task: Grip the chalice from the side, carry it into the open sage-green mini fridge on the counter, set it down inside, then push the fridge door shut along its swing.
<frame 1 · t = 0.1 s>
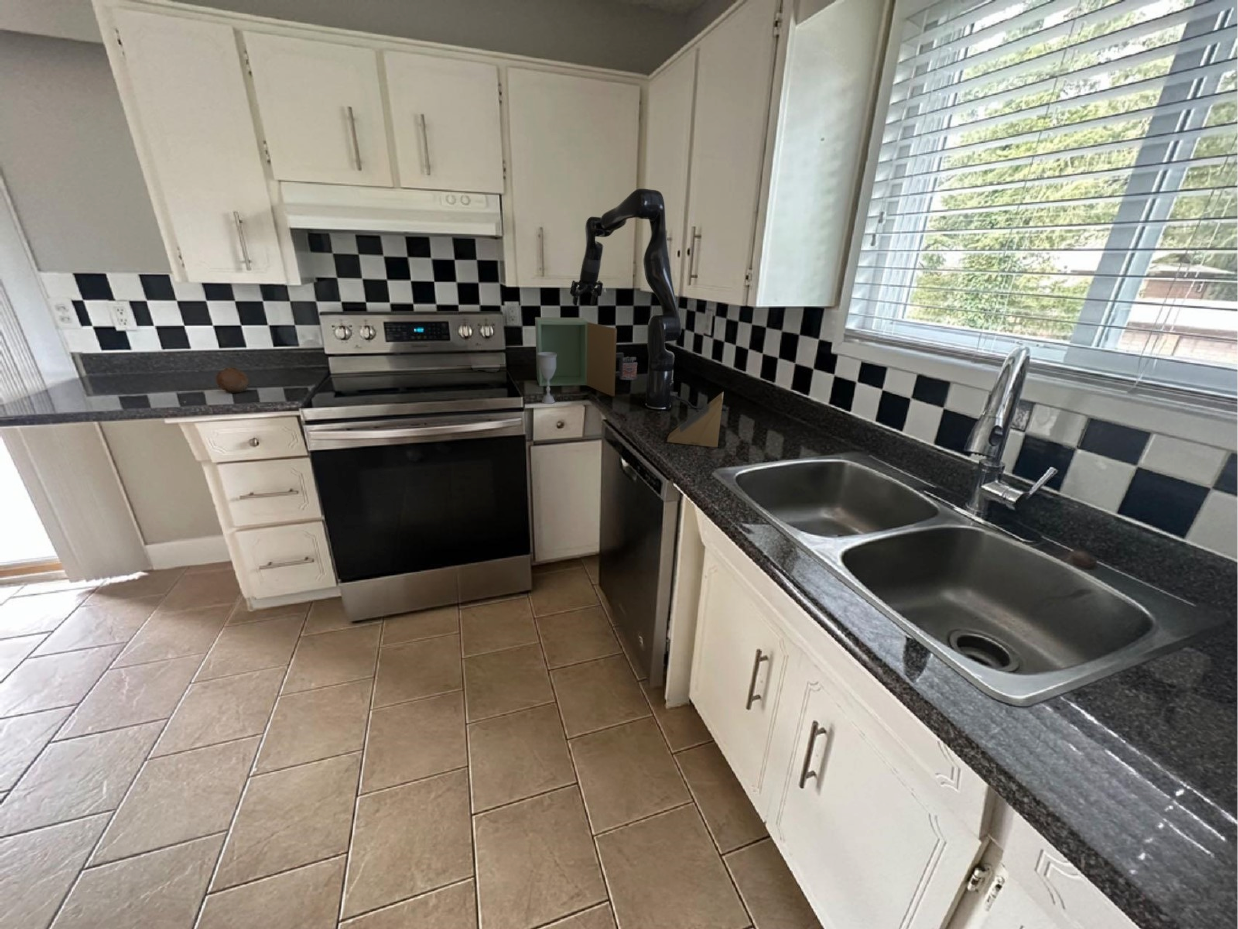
hand: (583, 304, 218), 31 cm above the worktop, tool tilted 20°, fingers open, 8 cm apart
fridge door: (606, 358, 202), point 13 cm above the worktop, hinge at 110.0°
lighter: (627, 379, 228), on the worktop
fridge: (561, 381, 218), on the worktop
sandwich container: (692, 440, 154), on the worktop
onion: (235, 392, 186), on the worktop
chalice: (548, 402, 188), on the worktop
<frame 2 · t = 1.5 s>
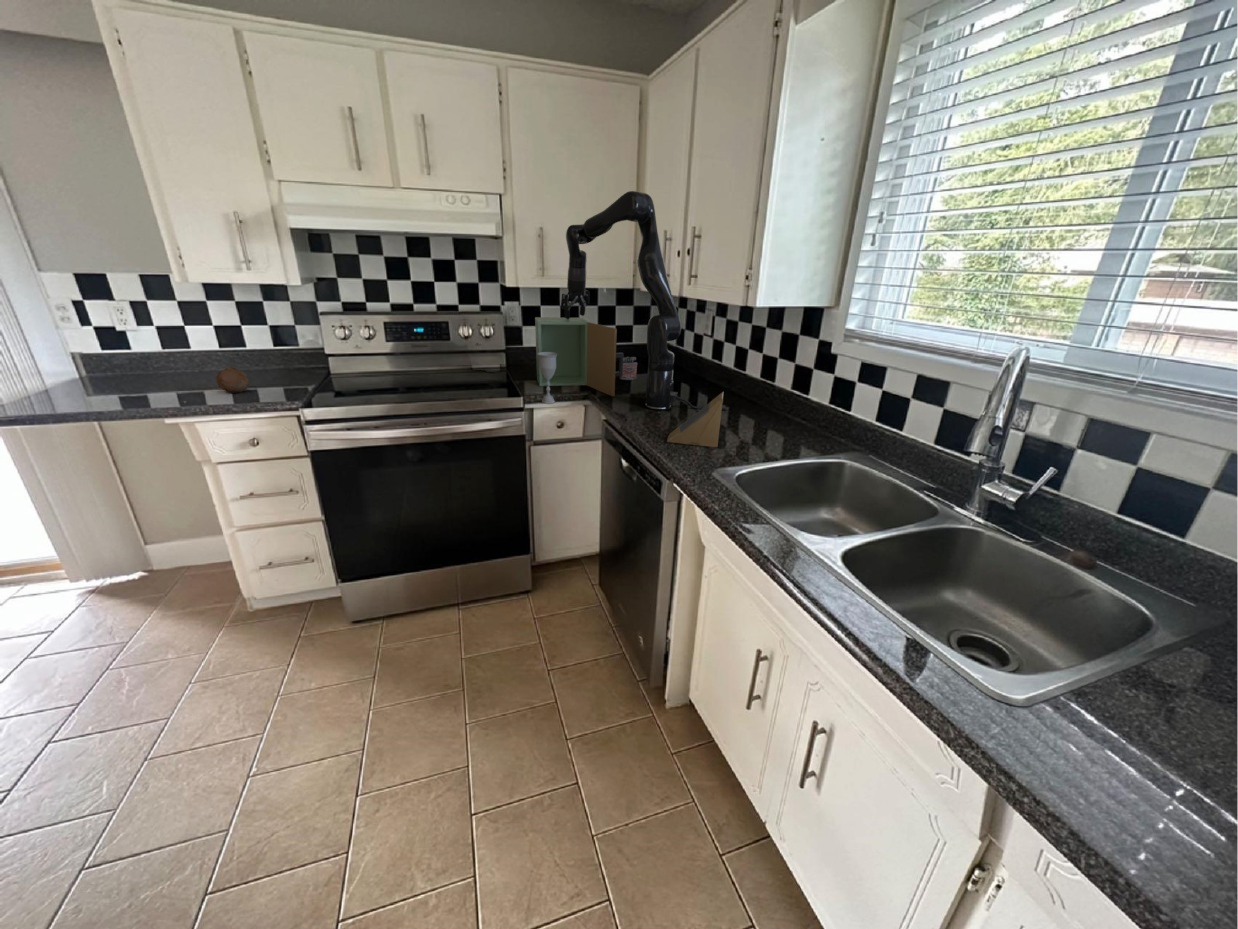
hand: (574, 316, 214), 27 cm above the worktop, tool pointing down, fingers open, 8 cm apart
nothing on the worktop moved.
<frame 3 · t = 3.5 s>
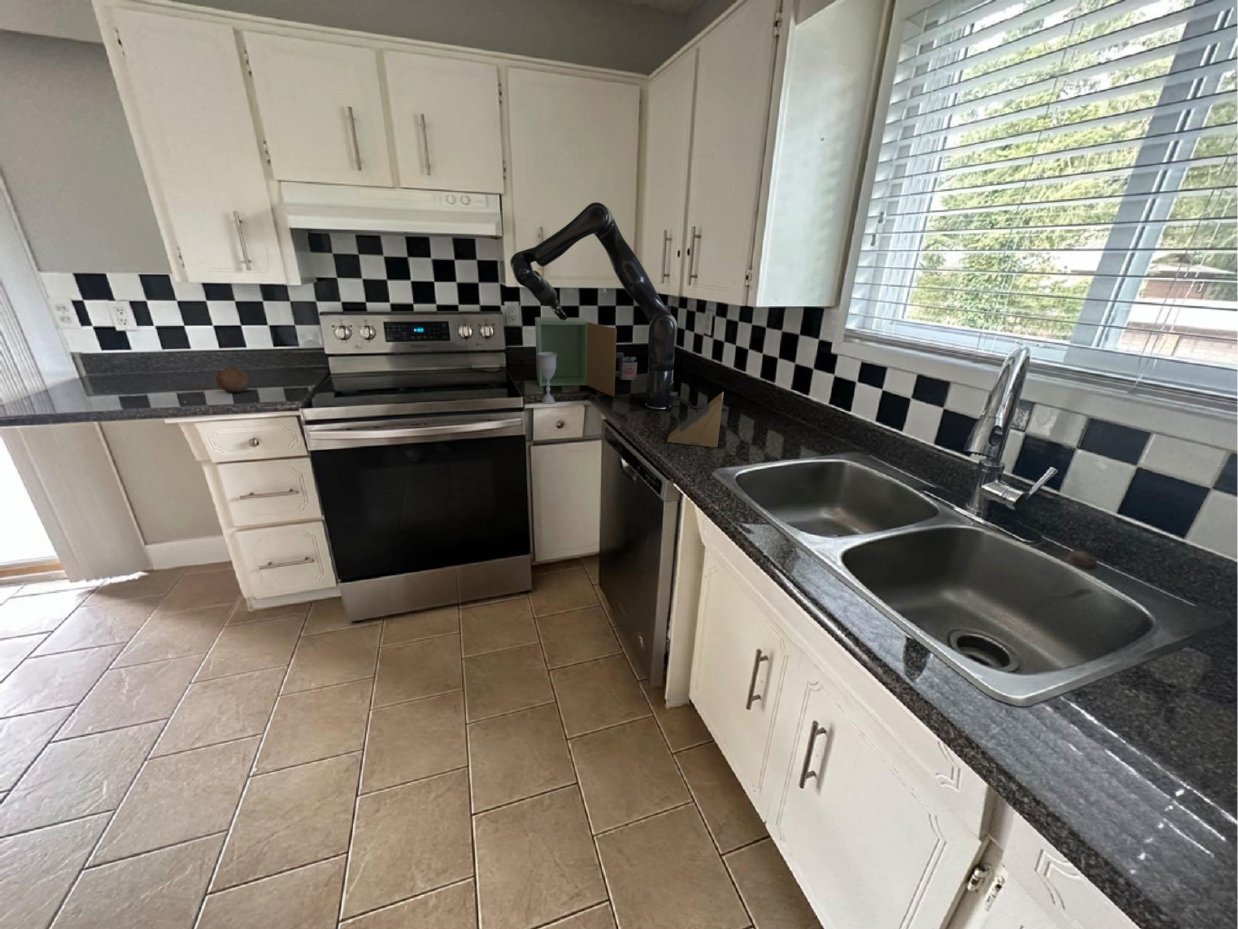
hand: (561, 311, 207), 30 cm above the worktop, tool tilted 60°, fingers open, 7 cm apart
nothing on the worktop moved.
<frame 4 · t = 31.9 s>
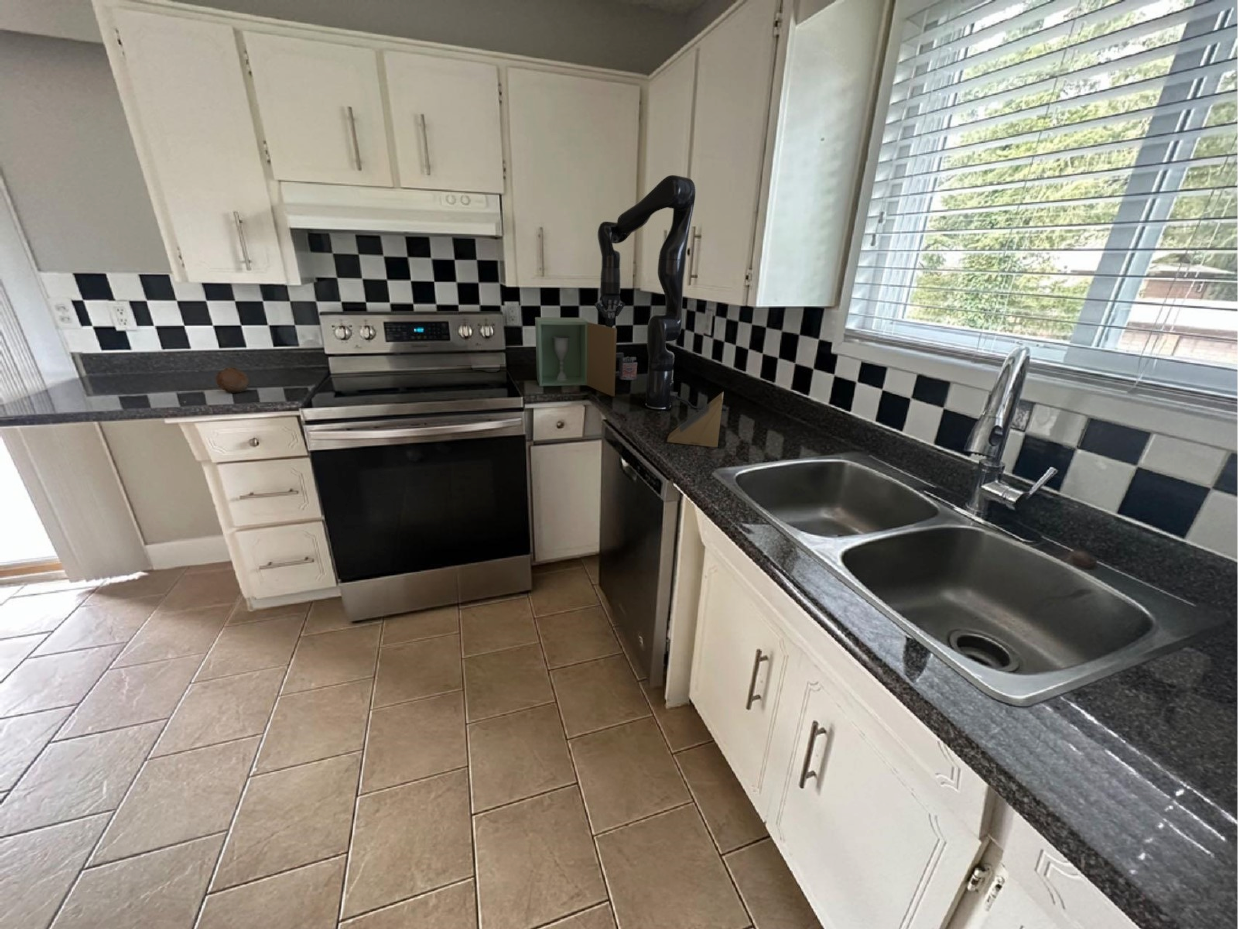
hand: (609, 327, 195), 26 cm above the worktop, tool pointing down, fingers closed
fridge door: (606, 358, 202), point 13 cm above the worktop, hinge at 110.0°, touching gripper
chalice: (561, 379, 218), point 1 cm above the worktop, touching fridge
everything else where it was.
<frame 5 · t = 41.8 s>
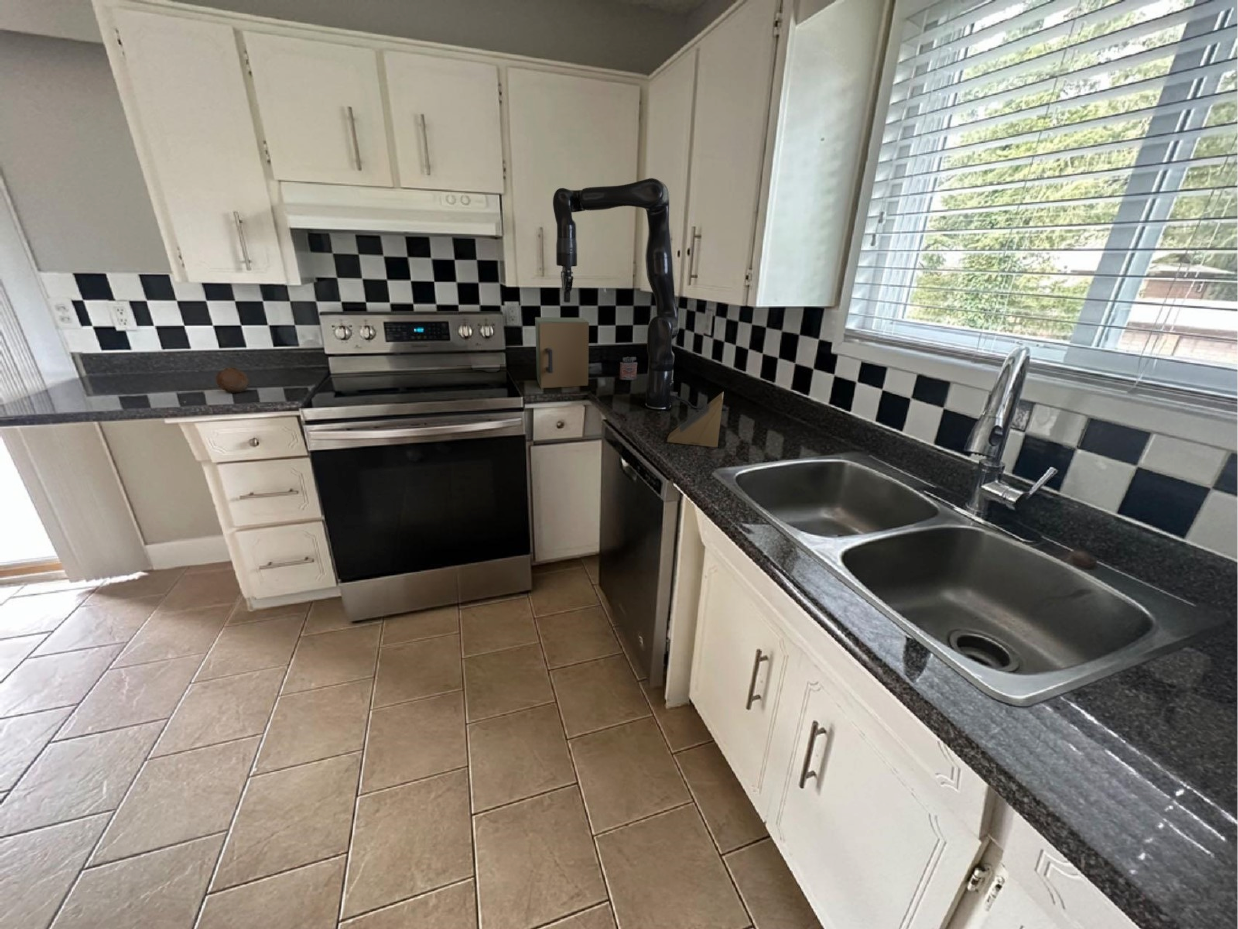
hand: (566, 302, 187), 35 cm above the worktop, tool pointing down, fingers closed
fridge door: (566, 356, 203), point 13 cm above the worktop, hinge at 8.2°
everything else where it was.
at the end: chalice inside the target area in the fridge (0.1 cm from its centre), point 1.0 cm above the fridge's base; chalice tilted 0°; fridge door at +8° (first picture: +110°) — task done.
